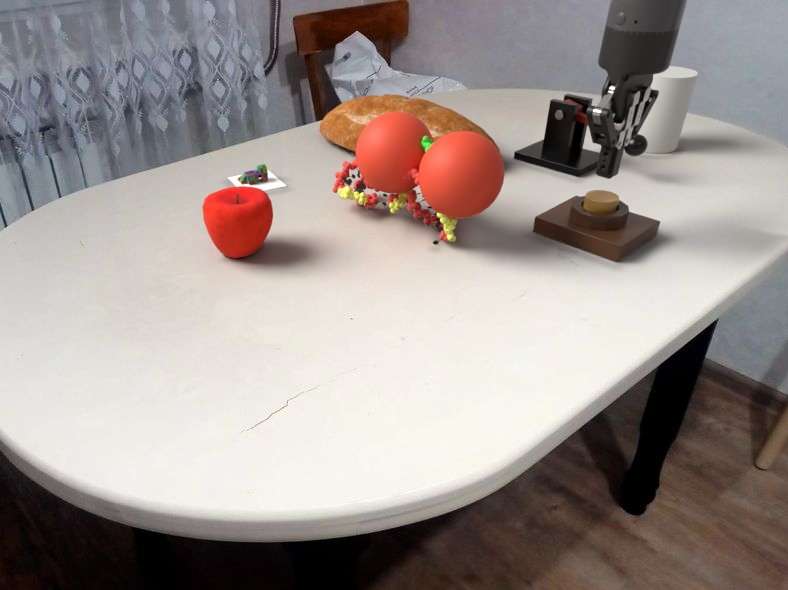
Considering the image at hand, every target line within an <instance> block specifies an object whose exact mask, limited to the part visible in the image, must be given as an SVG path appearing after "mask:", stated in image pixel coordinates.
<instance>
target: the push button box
mask: <svg viewBox="0 0 788 590" xmlns="http://www.w3.org/2000/svg"><path fill="white" fill-rule="evenodd" d="M585 196H586V195H582V196H579V195H574V196H573V197H570V198H568V199H567V200H565V201H562V202H560V203H558V204H557V205H554V206H553V207H551V208H549V209H547V210H546V211H543V212H542V213H540V214H538V215H536V216H535V217H534V221H533V227H532V233H534V234H537V235H540V236H543V237H545V238H548V239H551V240H554V241H556V242H559V243H562V244H565V245H568V246H571V247H573V248H576V249H578V250H582V251H584V252H586V253H587V252H588V253H589V254H592V255H596V256H599V257H601V258H604V259H607V260H609V261H612V262H615V263H619V262H620V261H622V260H623V259H625V258H626V257H627V256H629V255H631V254H632V253H634V252H635V251H636V250H638V249H639V248H642V246H644V245H646V244H647V243H648V242H650V241H651V240H653V239H654V238H656V237H657V234H658V231H659V228H660V224H661V221H660V220H658V219H655V218H651V217H648V216H645V215H642V214H638V213H635V212H632V211H630V206H629V205H628V204H626V203H625V202H623V201H622V200H620V199H619V201H618V205H617V209H616V212H614V213H607V214H604V213H594V212H591V211H588V210H586V209H585V208H583V205H584V200H585Z"/></svg>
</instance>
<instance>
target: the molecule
mask: <svg viewBox="0 0 788 590" xmlns="http://www.w3.org/2000/svg"><path fill="white" fill-rule="evenodd" d="M498 148H499V147H498ZM498 148H497V147H496V146H495V145H494V144H493V143H492V141H490V140H489V139H487V138H486V137H485V136H482V135H480V134H478V133H475V132H470V131H459V132H452V133H449V134H447V135H444V136H442V137H441V138H439V139H438V140H436V141H435V142H434V141H433V138H432V135H431V133H430V131H429V129H428V128H427V127H426V125H425V124H424V123H423V122H422V121H421V120H419V119H418V118H416V117H415V116H413V115H410V114H408V113H404V112H389V113H385V114H383V115H380V116H378V117H376V118H375V119H373V120H372V121H370V122H369V124H368V125H367V126H366V127H365V128H364V130H363V131H362V133H361V135H360V137H359V140H358V142H357V147H356V153H355V158H354V159H353V160H351V161H352V162H350V161H349V162H348V161H346V160H343V162H342V163H341V165H342V169H341V170H342V171H336V172H335V173H334V177H335V178H336V179H335V182H334V183H333V187H332V192H333V193H334V194H339V195H340V198H341V199H342V200H351V201H354V200H355V202H356V205H357V206H359V207H360V206H363V207H364V208H365V210H367V211H370V210H371V208H372V207H375V206H377V205H378V203H382V205H383V206H384V207H386V206H387V205H388V208H389V210H390V213H391V214H396V213H399V211H400V210H401V208H404V207H406V210H408V211H409V212H414V213H413V215H412V216H413V218H414V219H416V220H419V218H423V223H424V225H425V226H426V227H430V226H431V224H433V227H434V228H435V230H436V231H437V233H439V236H440V237H439V238H440V239H439V240H433V241H432V244H433V245H434V246H435V245H438V244H439V242H440V241H443V242H444V243H448V242H451V243H454V242H456V240H457V237H456V235H455V234H454V231H453V230H455V228H456V224H457V222H458V220H457V219H466V218H471V217H474V216H476V215H479V214H481V213H482V212H484V211H485V210H487V209H488V208H490V206H492V204H493V203H494V202H495V201H496V199H497V198H498V196H499V195H500V193H501V191H502V188H503V185H504V180H505V171H506V169H505V165H504V160H503V156H502V154H501V151H500V152H499V150H500V149H499V150H498ZM350 170H351V171H354V170H357V174H356V175H355V174H354V173H352V174H351V176H350ZM356 176H357V177H356ZM356 178H358V179H356ZM352 179H353V180H354V181H353V180H352ZM355 179H356V180H355ZM352 184H353V186H352ZM351 186H352V187H351ZM418 186H419V190H420V192H418V193H417V190H415V189H416V187H418ZM366 189H369V190H374V192H372V193H371V194H370V193H368V194H366V192H365V190H366ZM379 192H381V193H382V196H383V197H385V198H388V199H387V201H386V202H387V203H386V202H385V201H380V200H379V199H378V194H377V193H379ZM387 194H389V195H387ZM418 195H421V198H423V199H421V200H420V201H416V200H417V199H418ZM424 201H425V202H426V204H427V205H428V206H427V207H426V209H425V208H424V209H422V204H421V203H422V202H424ZM431 209H432V210H434V211H435V212H434V213H433V214H431V212H430V210H431Z"/></svg>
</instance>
